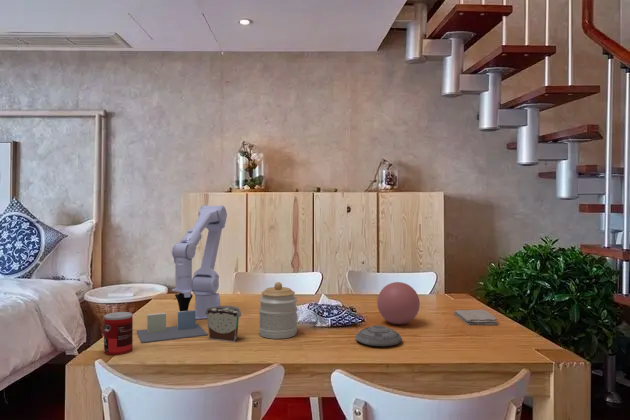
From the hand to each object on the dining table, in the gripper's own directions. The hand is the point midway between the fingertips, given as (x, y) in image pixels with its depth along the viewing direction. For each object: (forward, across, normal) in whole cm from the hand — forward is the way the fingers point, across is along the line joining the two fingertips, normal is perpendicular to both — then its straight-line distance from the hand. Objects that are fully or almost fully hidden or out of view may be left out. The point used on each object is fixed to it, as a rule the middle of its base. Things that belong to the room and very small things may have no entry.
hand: (183, 313), depth 170 cm
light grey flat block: (+4, +5, 0) cm, 6 cm away
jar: (+5, +24, +27) cm, 36 cm away
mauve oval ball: (+5, +28, +73) cm, 78 cm away
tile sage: (+4, +5, -10) cm, 12 cm away
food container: (+5, +21, +10) cm, 24 cm away
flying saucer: (+5, +46, +53) cm, 70 cm away
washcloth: (+5, +37, +103) cm, 110 cm away
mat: (+4, +8, -6) cm, 11 cm away
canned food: (+5, +21, -23) cm, 31 cm away
